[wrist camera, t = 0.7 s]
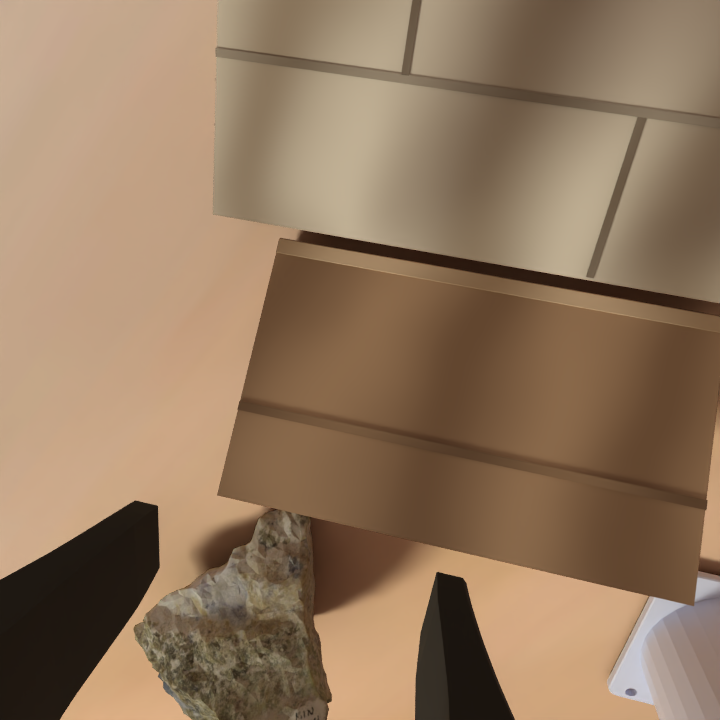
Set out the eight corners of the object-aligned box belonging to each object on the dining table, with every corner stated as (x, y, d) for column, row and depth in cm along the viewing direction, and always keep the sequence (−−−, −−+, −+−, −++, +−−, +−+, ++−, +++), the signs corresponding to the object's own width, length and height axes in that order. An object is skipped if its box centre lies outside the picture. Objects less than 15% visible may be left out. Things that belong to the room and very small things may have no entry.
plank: (702, 326, 18) (728, 316, 17) (669, 592, 17) (694, 606, 15) (288, 252, 20) (279, 237, 18) (230, 491, 18) (216, 495, 17)
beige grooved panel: (972, -56, 14) (1027, -78, 12) (790, 307, 18) (817, 320, 16) (240, -131, 16) (220, -157, 14) (228, 209, 20) (211, 214, 18)
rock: (289, 497, 23) (332, 775, 18) (354, 511, 28) (401, 733, 23) (110, 565, 27) (106, 813, 22) (195, 567, 32) (207, 769, 27)
